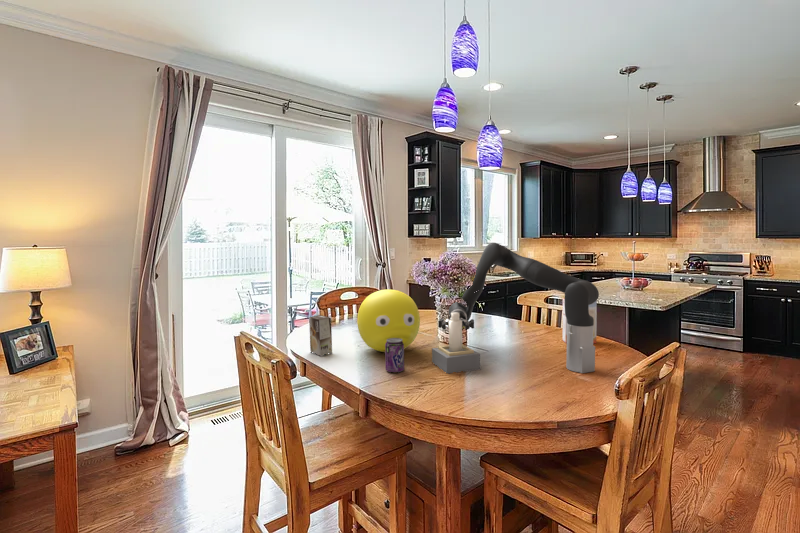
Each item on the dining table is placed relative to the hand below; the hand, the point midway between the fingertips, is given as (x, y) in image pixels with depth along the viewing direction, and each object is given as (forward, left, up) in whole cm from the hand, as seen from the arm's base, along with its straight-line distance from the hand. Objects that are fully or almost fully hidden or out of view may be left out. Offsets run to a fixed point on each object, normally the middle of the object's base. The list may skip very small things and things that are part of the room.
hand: (455, 327), depth 164 cm
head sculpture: (+31, +18, -16) cm, 39 cm away
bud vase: (+1, 0, -9) cm, 10 cm away
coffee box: (+39, +47, -16) cm, 62 cm away
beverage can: (+4, +24, -16) cm, 29 cm away
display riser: (+1, 0, -15) cm, 16 cm away
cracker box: (+13, -70, -16) cm, 73 cm away
